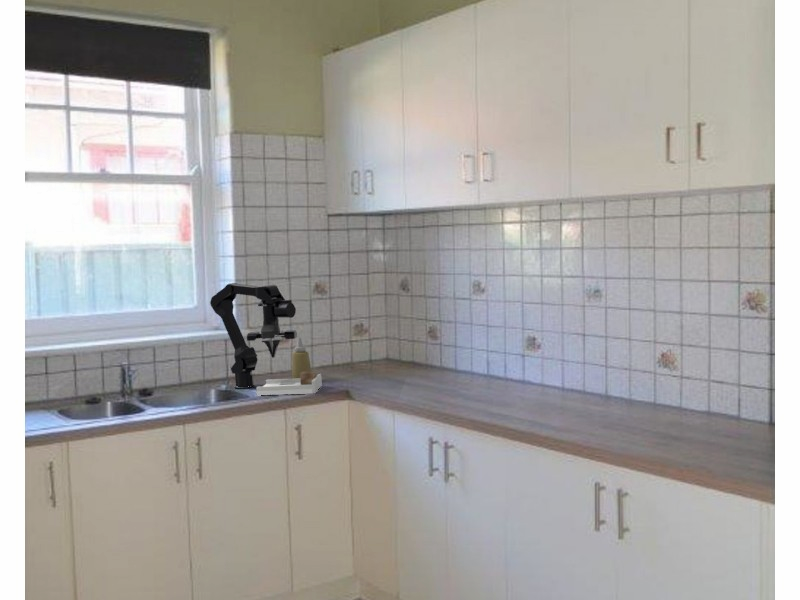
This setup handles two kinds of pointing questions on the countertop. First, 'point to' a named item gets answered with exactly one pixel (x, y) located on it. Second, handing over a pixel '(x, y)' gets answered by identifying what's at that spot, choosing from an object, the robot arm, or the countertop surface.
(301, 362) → the squeeze bottle
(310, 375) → the block
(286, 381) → the board
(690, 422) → the countertop surface
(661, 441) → the countertop surface
